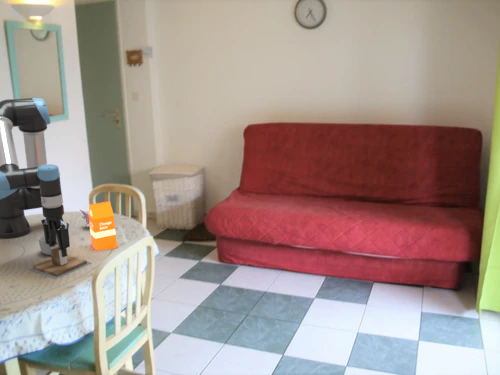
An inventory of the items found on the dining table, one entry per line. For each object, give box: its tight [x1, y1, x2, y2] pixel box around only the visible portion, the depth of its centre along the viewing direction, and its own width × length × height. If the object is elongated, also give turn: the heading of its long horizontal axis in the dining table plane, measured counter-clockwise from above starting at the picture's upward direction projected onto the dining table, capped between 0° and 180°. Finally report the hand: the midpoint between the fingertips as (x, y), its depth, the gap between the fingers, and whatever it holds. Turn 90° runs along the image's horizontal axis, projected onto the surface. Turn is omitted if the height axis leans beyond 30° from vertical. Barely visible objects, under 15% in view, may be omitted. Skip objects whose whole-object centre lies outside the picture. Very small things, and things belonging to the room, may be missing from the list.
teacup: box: [37, 234, 59, 256], centre depth 213 cm, size 14×11×8 cm
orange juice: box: [88, 200, 118, 251], centre depth 215 cm, size 8×9×20 cm
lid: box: [32, 247, 88, 277], centre depth 196 cm, size 14×14×7 cm
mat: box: [27, 261, 93, 280], centre depth 197 cm, size 17×17×1 cm
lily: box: [79, 209, 90, 230], centre depth 240 cm, size 12×12×10 cm
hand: (60, 262), depth 197 cm, fingers closed on lid, 4 cm apart
